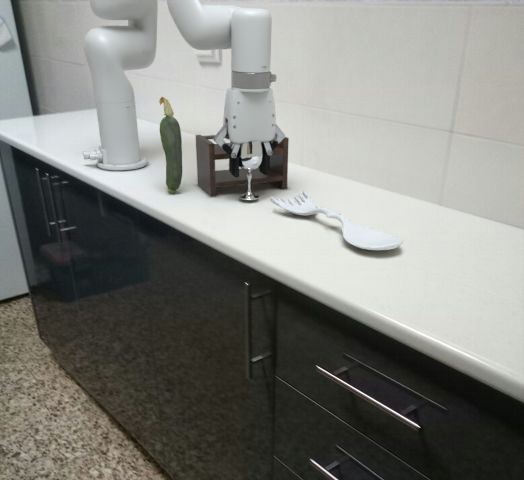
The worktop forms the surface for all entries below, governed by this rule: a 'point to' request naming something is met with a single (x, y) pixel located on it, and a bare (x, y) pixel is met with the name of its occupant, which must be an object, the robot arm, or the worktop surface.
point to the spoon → (351, 230)
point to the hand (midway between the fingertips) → (249, 173)
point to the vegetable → (171, 147)
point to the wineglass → (250, 163)
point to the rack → (213, 179)
